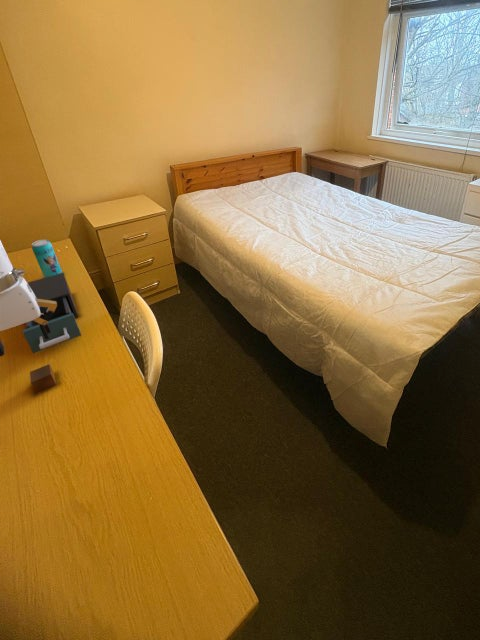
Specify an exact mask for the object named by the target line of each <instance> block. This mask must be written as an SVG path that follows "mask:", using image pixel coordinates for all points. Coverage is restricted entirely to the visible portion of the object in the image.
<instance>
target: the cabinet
mask: <svg viewBox="0 0 480 640" xmlns="http://www.w3.org/2000/svg"><path fill="white" fill-rule="evenodd" d="M27 283H28V284H29V286H30V288H31V289H32V291H33V293H34V294H35V296H36V298H37V299H43V300H50V301H53V300H56V299H59V298H62V297H66V299H67V302H68V304H69V307H70V309H71V312H72V313H73V315H74V318H75V319H78V318H79V313H78V311H77V306H76V303H75V301H74V297H73V293H72V292H71V289H70V286H69V284H68V281H67V279H66V275H65V273H64V272H62V273H60V274H57V275H53V276H50V277H46V278H45V277H42V278H40V279H35V280H32V281H29V282H28V281H27ZM24 326H25V327H26V323H24Z"/></svg>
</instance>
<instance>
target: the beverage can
mask: <svg viewBox="0 0 480 640" xmlns="http://www.w3.org/2000/svg"><path fill="white" fill-rule="evenodd" d="M31 246H32V247H31V250H32V252H33V254H34V257H35V259H36V261H37V262H36V263H37V264H38V266H39V268H40V271H41V273H42V276H43V278H46V277H50V276H53V275H57V274H60V273H63V270H62V268H61V266H60V265H61V264H60V262H59V260H58V257H57V255H56V253H55V250H54V246H53V244H52V242H50V240H49V239H45V238H44V239H38V240H36V241H34V242H32V243H31Z"/></svg>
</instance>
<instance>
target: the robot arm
mask: <svg viewBox="0 0 480 640" xmlns="http://www.w3.org/2000/svg"><path fill="white" fill-rule="evenodd" d="M23 275H26V271H25V269H24V268H15V267H14V265H12V262H11V260H10V258H9V256H8V253H7V251H6V250H5V247H4V245H3V243H2V240H0V332H3V331H6V330H10V329H12V328H15V327H18V326H21V325H23V324H24V323H27V322H30V321H32V320H33V321H35V322H37V323H39V324H40V329H41V331H42V333H43V335H44V337H45V339H49V334H48V333H51V329H50V327H49V324H48V321H49V319H50V318H51V317H52V315H53V312H54V311H55V309H56V307H57V302H56V301H50V300H43V299H37V298H36V296H35V294H34V293H33V291H32V289H31V288H30V286H29V284H28V281H26V279H25V278H24V276H23ZM40 307H48V309H47V310H46V311H45V313H44V314H43V313H41V312H40V309H39V308H40ZM24 325H25V324H24ZM3 356H5V346H4V344H3V342H2V339H0V357H3Z"/></svg>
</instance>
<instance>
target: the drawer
mask: <svg viewBox="0 0 480 640" xmlns="http://www.w3.org/2000/svg"><path fill="white" fill-rule="evenodd" d="M53 301H56V302H57V307H56V309H55V311H54V312H53V315H52V317H51V318H50V319H49V321H48V324H49V327H50V329H51V333H48V334H49V339H45V337H44V335H43V333H42V331H41V329H40V324H39V323H37V322H35V321H33V320H32V321H30V322H27V323H26V326H25V329H23V330H22V334H23V336H24V338H25V340H26V342H27V344H28V346H29V348H30V349H31V352H32V354H37V353H39V352H42V351H44V350H47V349H49V348H52V347H54V346H57V345H60V344H62V343H65V342H67V341H70V340H73V339H75V338H78V337H81V336H82V333H81V330H80V327H79V325H78V323H77V320H76V318H74V315H73V313H72V312H71V309H70V307H69V304H68V302H67V299H66V297H62V298H59V299H56V300H53ZM39 309H40V312H41V313H43V314H44V313H45V311H46V310H47V309H48V307H40V308H39Z"/></svg>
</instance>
